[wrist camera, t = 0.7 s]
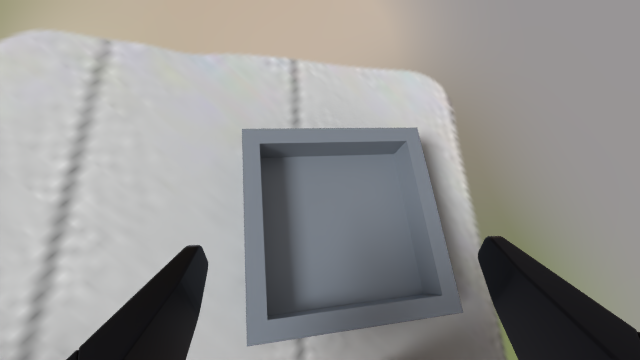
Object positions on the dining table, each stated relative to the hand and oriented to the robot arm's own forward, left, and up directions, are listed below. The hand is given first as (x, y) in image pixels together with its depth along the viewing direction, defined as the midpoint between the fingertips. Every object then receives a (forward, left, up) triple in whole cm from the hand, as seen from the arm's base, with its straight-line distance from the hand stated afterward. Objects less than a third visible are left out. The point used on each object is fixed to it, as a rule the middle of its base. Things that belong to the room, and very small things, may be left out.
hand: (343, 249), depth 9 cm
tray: (+3, -3, -13) cm, 14 cm away
